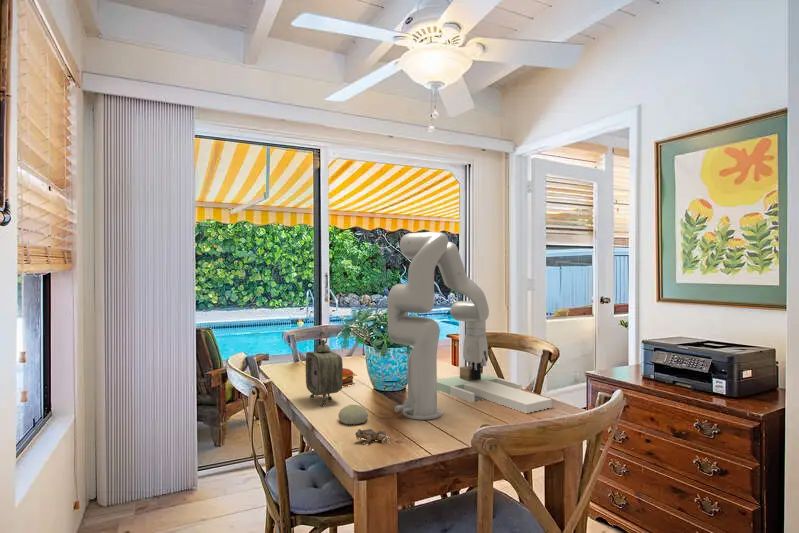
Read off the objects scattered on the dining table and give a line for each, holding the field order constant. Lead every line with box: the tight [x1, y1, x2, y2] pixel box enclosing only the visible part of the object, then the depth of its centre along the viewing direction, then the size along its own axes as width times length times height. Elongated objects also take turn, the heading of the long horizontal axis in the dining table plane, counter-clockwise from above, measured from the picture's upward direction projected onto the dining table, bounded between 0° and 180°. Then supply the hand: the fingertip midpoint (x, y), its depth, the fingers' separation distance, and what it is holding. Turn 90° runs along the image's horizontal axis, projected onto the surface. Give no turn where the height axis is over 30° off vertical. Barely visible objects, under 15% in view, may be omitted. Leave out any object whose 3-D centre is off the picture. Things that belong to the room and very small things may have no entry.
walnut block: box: [459, 365, 481, 381], centre depth 196 cm, size 6×6×4 cm
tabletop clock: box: [305, 331, 344, 407], centre depth 175 cm, size 14×9×25 cm, turn 29°
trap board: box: [437, 372, 553, 414], centre depth 182 cm, size 25×44×3 cm, turn 32°
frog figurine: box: [354, 428, 389, 446], centre depth 137 cm, size 12×12×4 cm
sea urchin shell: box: [337, 404, 369, 426], centre depth 153 cm, size 9×8×8 cm
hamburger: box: [342, 367, 358, 386], centre depth 200 cm, size 9×10×7 cm
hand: (476, 379), depth 191 cm, fingers closed
